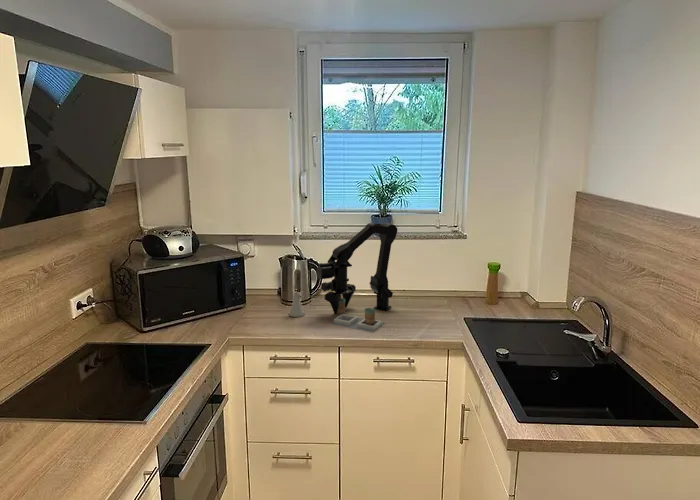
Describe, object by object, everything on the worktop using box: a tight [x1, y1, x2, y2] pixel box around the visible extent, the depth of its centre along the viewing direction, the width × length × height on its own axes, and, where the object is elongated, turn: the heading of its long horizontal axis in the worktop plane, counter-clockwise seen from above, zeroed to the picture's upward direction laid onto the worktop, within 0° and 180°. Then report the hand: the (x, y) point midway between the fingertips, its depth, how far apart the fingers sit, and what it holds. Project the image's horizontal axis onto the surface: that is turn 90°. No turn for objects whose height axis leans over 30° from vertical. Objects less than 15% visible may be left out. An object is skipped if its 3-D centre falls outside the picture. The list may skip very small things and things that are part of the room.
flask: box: [288, 291, 306, 318], centre depth 223 cm, size 7×7×10 cm
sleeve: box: [337, 297, 346, 315], centre depth 224 cm, size 4×4×7 cm
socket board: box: [330, 313, 386, 333], centre depth 211 cm, size 12×20×3 cm, turn 63°
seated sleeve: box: [364, 307, 376, 326], centre depth 208 cm, size 4×4×7 cm
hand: (340, 310), depth 224 cm, fingers open, 9 cm apart
